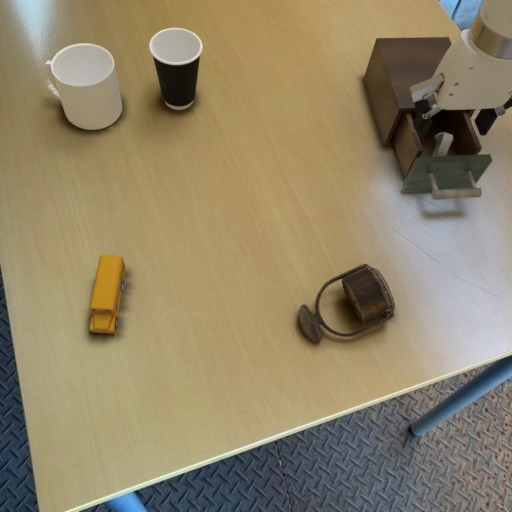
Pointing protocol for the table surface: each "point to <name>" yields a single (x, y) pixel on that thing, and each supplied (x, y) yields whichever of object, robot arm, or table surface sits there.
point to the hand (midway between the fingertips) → (449, 129)
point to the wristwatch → (442, 144)
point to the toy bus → (107, 294)
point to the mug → (85, 85)
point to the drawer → (441, 167)
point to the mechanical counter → (354, 301)
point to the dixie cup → (176, 65)
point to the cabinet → (400, 77)
